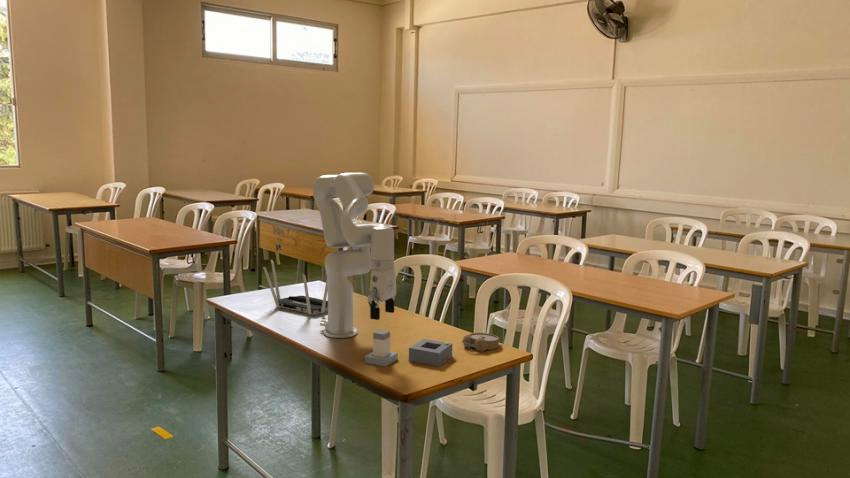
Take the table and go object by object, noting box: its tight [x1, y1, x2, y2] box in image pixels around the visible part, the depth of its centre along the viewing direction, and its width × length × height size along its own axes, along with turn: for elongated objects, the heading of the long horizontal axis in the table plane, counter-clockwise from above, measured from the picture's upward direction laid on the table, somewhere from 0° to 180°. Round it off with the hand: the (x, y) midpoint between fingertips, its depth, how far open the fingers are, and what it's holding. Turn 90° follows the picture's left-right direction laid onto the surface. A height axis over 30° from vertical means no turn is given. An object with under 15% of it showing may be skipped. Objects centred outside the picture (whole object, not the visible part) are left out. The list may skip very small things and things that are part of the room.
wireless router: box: [262, 259, 328, 316], centre depth 268 cm, size 34×23×20 cm
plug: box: [372, 329, 391, 358], centre depth 209 cm, size 4×4×10 cm
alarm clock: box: [461, 332, 502, 352], centre depth 226 cm, size 11×5×15 cm
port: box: [408, 338, 453, 367], centre depth 213 cm, size 11×11×5 cm
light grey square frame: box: [364, 351, 399, 368], centre depth 210 cm, size 8×8×2 cm
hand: (382, 315), depth 207 cm, fingers open, 9 cm apart
